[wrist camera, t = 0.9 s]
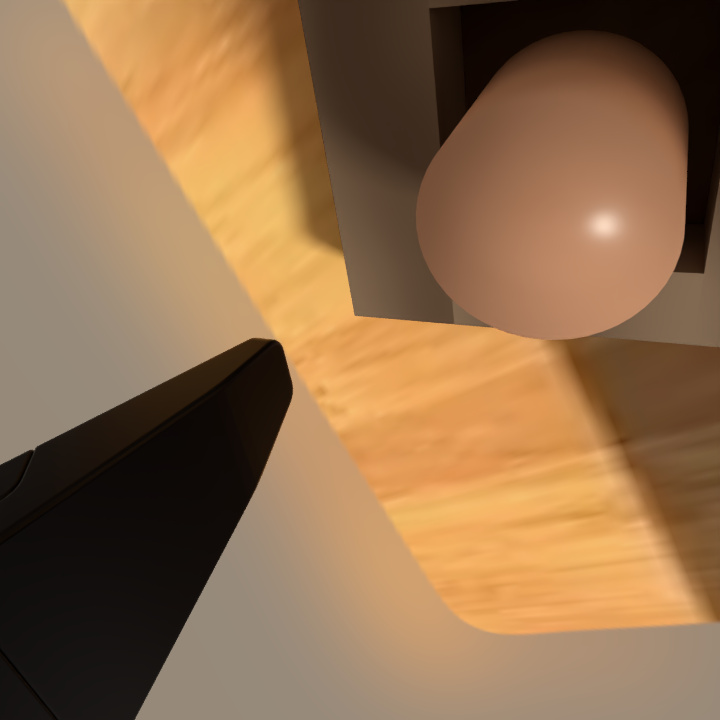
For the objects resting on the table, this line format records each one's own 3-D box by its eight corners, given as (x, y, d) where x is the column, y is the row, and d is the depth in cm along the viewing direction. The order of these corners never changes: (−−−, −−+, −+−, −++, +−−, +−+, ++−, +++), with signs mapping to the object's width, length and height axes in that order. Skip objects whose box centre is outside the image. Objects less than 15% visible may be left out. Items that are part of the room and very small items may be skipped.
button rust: (703, 20, 13) (704, 93, 10) (674, 238, 16) (668, 350, 13) (466, 38, 15) (403, 104, 12) (476, 232, 18) (427, 328, 14)
